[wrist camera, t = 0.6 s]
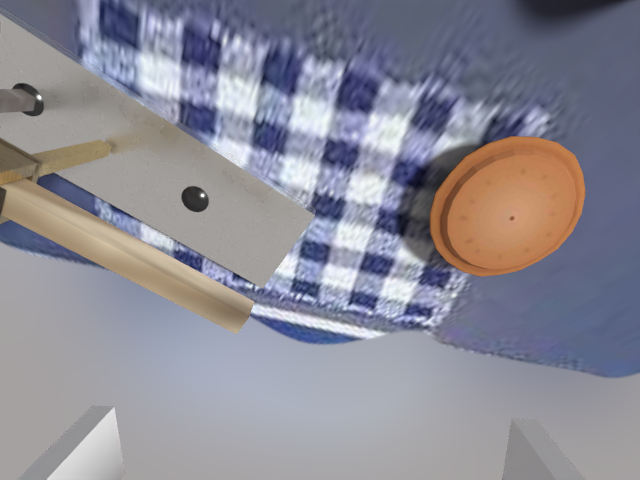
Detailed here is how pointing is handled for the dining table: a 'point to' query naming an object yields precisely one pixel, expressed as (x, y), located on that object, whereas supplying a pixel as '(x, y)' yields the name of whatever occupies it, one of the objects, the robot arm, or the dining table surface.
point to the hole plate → (146, 158)
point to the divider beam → (116, 244)
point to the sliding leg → (43, 162)
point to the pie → (507, 205)
